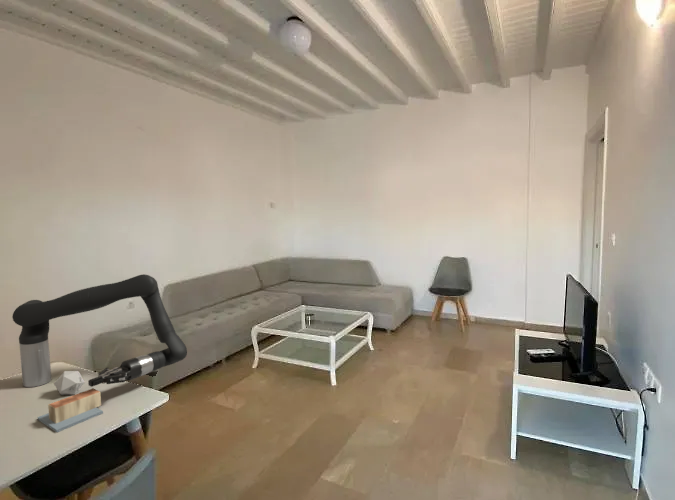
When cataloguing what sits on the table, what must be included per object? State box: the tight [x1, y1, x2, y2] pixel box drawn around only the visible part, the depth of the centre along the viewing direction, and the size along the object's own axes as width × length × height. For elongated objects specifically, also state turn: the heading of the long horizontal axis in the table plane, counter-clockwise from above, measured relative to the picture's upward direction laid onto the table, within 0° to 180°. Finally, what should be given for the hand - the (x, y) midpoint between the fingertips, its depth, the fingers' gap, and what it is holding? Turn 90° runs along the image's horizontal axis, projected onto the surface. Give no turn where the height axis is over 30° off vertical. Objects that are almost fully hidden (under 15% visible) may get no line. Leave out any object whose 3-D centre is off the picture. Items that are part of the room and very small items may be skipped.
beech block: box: [47, 387, 102, 423], centre depth 135 cm, size 5×5×14 cm
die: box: [53, 370, 86, 396], centre depth 151 cm, size 8×9×10 cm
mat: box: [37, 407, 104, 433], centre depth 134 cm, size 14×14×1 cm
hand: (89, 383), depth 139 cm, fingers closed
